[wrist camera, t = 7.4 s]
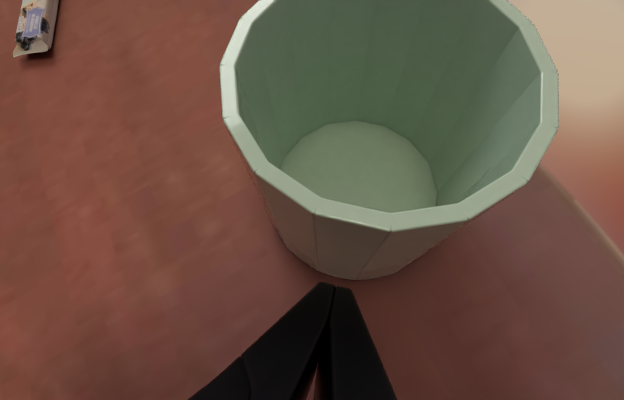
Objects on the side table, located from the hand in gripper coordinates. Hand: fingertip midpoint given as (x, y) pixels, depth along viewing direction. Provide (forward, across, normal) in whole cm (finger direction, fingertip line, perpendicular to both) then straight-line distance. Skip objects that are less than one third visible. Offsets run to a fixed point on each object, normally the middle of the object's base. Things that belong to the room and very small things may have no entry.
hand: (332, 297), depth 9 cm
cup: (+9, 0, +1) cm, 9 cm away
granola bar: (+14, +24, -4) cm, 28 cm away
